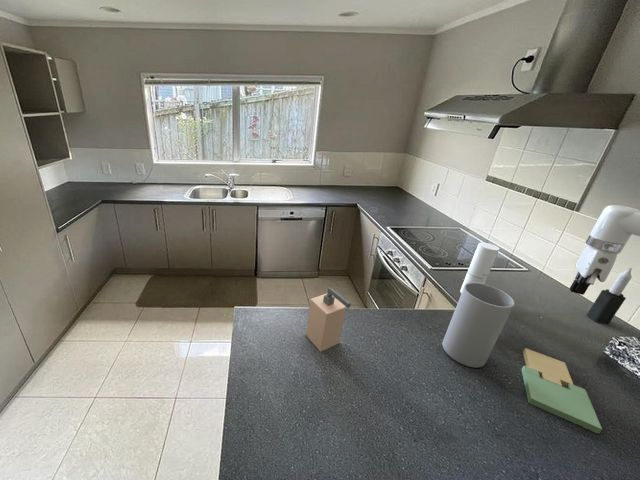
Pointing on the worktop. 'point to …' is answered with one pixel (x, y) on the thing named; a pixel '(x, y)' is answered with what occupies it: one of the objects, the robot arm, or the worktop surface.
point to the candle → (610, 300)
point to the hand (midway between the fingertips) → (576, 292)
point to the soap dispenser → (326, 319)
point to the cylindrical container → (481, 264)
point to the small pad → (548, 367)
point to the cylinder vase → (476, 324)
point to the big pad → (560, 400)
